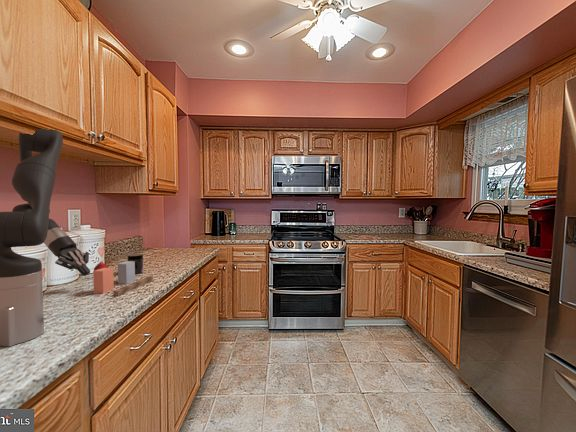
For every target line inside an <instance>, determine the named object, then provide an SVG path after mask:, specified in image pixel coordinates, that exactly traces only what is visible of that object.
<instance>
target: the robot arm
mask: <svg viewBox="0 0 576 432" xmlns="http://www.w3.org/2000/svg"><path fill="white" fill-rule="evenodd" d="M52 129H53V128H52ZM52 129H51V130H45V129H37V130H36V131H35V133H34V134H33V135H30V134H22V133H18V150H19V152H18V153H19V161H20V162H19V163H18V164H17V165H16V167H15V170H14V173H13V175H12V178H11V184H12V187H13V188H14V190H15V192H16V193H17V194H19V196H20V197H21V200H23V201H25V202H27V203H23V204H17V205H15V206H14V207H13V208H12V210H11V211H0V347H12V346H14V345H18V344H22V343H26V342H28V341H30V340H34V339H36V338H37V337H39V336H41V335H43V333H44V332H45V321H44V319H45V318H44V295H43V294H44V291H43V290H44V289H43V288H44V287H43V263H42V261H41V259H39V258H35V257H30V256H26V255H21V254H19V253H17V252H15V251H13V249H12V248H22V247H24V248H25V247H35V246H41V245H42V244H43V245H45V246H46V247H47V249H49V251H50V253H52V254H53V255H54V256H55V257H57V259H56V260H55V262H54V264H56V265H58V266H60V267H64V268H65V269H69V270H77V272H79V274H81V275H82V276H83V277H86V276H88V275H89V274H90V273H91V270H90V268H89V267H88V266H87V264H88V263H89V261H90V259H89V257H90V255H89V254H90V253H89V251H85V252H82V251H81V250H80V249H79V248H78V247H77V244H76V242H75V241H74V240H73V239H72V238H71V237H70V235H69V234H67V232H66V231H65V230H64V229H62V228H61V226H60V225H59V224H58V223H56V221H55V220H54V219H52V218H50V212H51V210H50V208H51V207H50V206H51V200H52V194H53V192H54V188H55V181H56V177H57V176H56V175H57V168H58V167H57V166H58V162H59V161H58V160H59V157H60V155H61V151H62V147H63V143H64V139H63V135H62V133H61V132H60V130H56V129H55V130H52ZM33 152H36V153H37V154H35V155H33Z"/></svg>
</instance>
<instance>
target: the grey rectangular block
mask: <svg viewBox="0 0 576 432" xmlns="http://www.w3.org/2000/svg"><path fill="white" fill-rule="evenodd" d="M134 282H136V275H135V262H133V261H127V260H126V261H122V262H119V263H117V284H119V285H120V284H121V285H122V284H123V285H129V284H131V283H134Z"/></svg>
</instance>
